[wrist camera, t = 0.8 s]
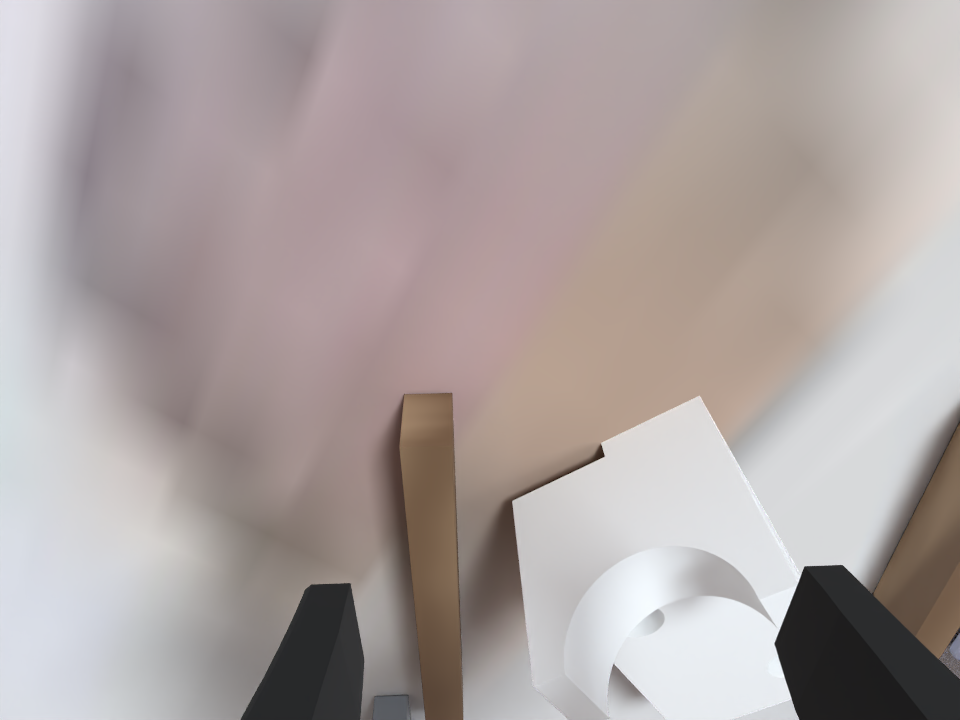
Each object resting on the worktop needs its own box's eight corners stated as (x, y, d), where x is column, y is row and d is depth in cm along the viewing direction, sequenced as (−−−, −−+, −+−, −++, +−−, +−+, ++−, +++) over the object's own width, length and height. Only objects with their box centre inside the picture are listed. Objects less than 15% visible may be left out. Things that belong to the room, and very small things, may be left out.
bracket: (510, 481, 24) (532, 687, 17) (696, 390, 22) (798, 584, 16) (659, 655, 30) (715, 852, 24) (813, 597, 28) (919, 794, 22)
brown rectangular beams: (1027, 377, 22) (1088, 427, 20) (869, 664, 30) (900, 719, 28) (404, 394, 21) (399, 447, 19) (428, 682, 30) (427, 739, 28)
